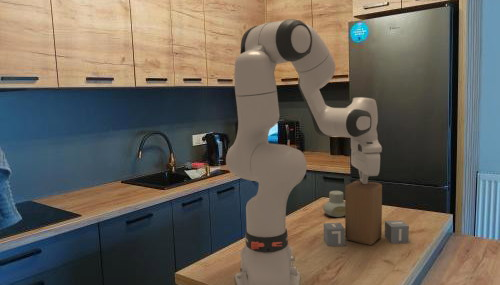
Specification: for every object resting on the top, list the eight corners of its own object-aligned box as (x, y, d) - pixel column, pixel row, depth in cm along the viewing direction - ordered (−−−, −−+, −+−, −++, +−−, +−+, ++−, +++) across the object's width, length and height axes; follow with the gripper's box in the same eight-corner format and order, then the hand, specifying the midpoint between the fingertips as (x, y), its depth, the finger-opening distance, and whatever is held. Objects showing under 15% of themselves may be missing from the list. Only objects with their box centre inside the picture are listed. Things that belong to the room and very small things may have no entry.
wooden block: (356, 231, 143) (356, 179, 141) (382, 237, 137) (383, 182, 134) (344, 240, 136) (344, 185, 133) (371, 246, 129) (372, 188, 127)
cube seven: (344, 245, 131) (345, 228, 130) (327, 246, 131) (327, 228, 130) (340, 238, 137) (340, 222, 136) (323, 239, 137) (323, 222, 136)
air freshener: (344, 211, 168) (344, 189, 167) (352, 217, 160) (352, 193, 158) (320, 213, 166) (320, 190, 165) (327, 219, 158) (327, 195, 157)
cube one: (408, 243, 131) (409, 225, 131) (391, 243, 131) (391, 226, 130) (401, 236, 138) (401, 219, 137) (384, 237, 137) (384, 220, 137)
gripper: (346, 140, 142) (346, 177, 144) (364, 148, 122) (364, 190, 124) (363, 139, 142) (363, 176, 144) (383, 147, 122) (383, 190, 124)
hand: (363, 183), depth 134 cm, fingers closed
